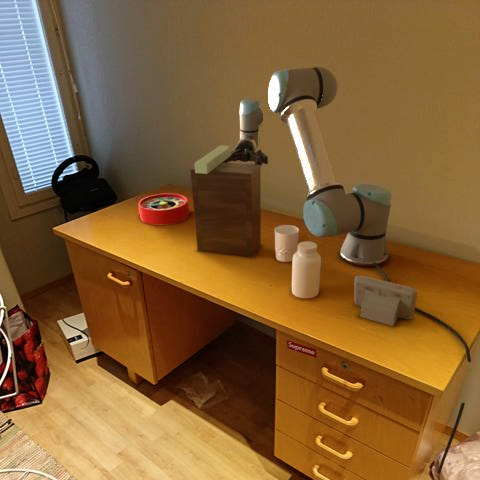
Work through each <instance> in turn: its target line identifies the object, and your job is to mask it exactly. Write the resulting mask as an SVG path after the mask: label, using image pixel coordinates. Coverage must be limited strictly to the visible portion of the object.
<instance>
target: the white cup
mask: <svg viewBox="0 0 480 480" xmlns="http://www.w3.org/2000/svg"><path fill="white" fill-rule="evenodd" d="M299 235H300V229H299V228H298V226H296V225H291V224H281V225H277V226H276V227H274V250H275V259H276V260H277V261H279V262H283V263H290V262H291V263H292V259H293V256H294V254H295V253H296V252H297V251H298V244H299Z"/></svg>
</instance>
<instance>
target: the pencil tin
mask: <svg viewBox="0 0 480 480" xmlns="http://www.w3.org/2000/svg"><path fill="white" fill-rule="evenodd" d="M231 152H232V145H218V146H217V147H215V148H214V149H213V150H211V151H210V152H208V153H207V154H206V155H204V156H203V157H201V158H200V159H198V160H196V161H195V162H194V167H195V173H203V174H208V173H209V172H210V171H212V170H213V169H214V168H215V167H217V166H218V165H219V164H221V163H222V162H223V161H224V160H226V159H227V158H228V157H230V156H231Z"/></svg>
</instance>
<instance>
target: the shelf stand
mask: <svg viewBox="0 0 480 480" xmlns="http://www.w3.org/2000/svg"><path fill="white" fill-rule="evenodd" d="M189 171H190V181H191V193H192V204H193V215H194V217H193V218H194V226H195V227H194V229H195V237H196V238H195V239H196V251H197V252H201V253H208V254H217V255H225V256H233V257H240V258H241V257H242V258H250V259H253V258H254V257H255V254H256V253H257V252H258V250H259V249H260V247H262V246H261V244H262V243H261V241H262V239H261V238H262V237H261V236H262V235H261V233H262V230H261V229H262V228H261V227H262V225H261V224H262V222H261V221H262V220H261V219H262V218H261V213H262V212H261V210H262V209H261V207H262V206H261V205H262V204H261V198H262V197H261V190H262V189H261V186H262V185H261V181H262V180H261V179H262V178H261V177H262V176H261V175H262V174H261V166H260V165H255V163H252V164H251V163H238V162H237V163H235V162H227V163H223V162H222V163H221V164H219V165H218V166H217V167H215V168H214V169H213V170H212V171H210V172H209V173H208V174H203V173H195V166H193V167H192V168H191V169H189Z"/></svg>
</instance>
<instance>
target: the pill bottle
mask: <svg viewBox="0 0 480 480" xmlns="http://www.w3.org/2000/svg"><path fill="white" fill-rule="evenodd" d="M291 263H292V264H291V265H292V266H291V293H292V295H293V296H294V297H296V298H299V299H313V298H315V297H317V296H318V295H319V293H320V283H321V269H322V256H321V255H320V254H319V253H318V244H317V243H316V242H314V241H308V240H307V241H301V242H298V246H297V251H296V253H295V254H294V256H293V259H292V261H291Z"/></svg>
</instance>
